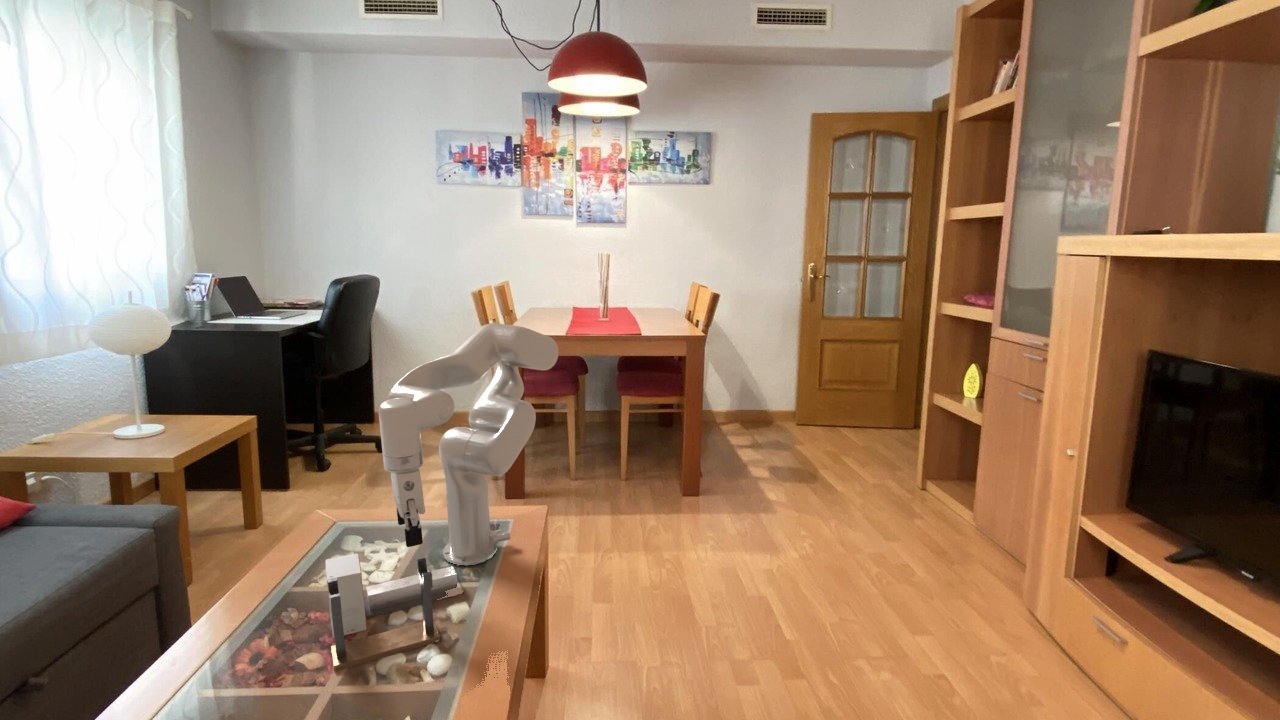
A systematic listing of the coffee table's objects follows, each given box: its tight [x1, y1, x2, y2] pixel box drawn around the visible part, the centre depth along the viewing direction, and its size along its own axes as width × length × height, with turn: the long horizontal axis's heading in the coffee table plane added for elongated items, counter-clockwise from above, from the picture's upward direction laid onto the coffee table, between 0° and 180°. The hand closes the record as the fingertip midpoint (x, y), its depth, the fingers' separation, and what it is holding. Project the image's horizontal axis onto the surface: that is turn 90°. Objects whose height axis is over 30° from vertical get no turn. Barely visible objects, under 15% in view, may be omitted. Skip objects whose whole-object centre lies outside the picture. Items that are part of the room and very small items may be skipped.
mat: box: [364, 591, 448, 620], centre depth 148 cm, size 20×7×1 cm, turn 118°
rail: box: [365, 565, 458, 611], centre depth 147 cm, size 18×4×4 cm, turn 118°
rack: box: [327, 557, 441, 672], centre depth 131 cm, size 19×6×15 cm, turn 118°
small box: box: [325, 553, 367, 639], centre depth 138 cm, size 8×6×13 cm
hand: (410, 533), depth 145 cm, fingers open, 9 cm apart
